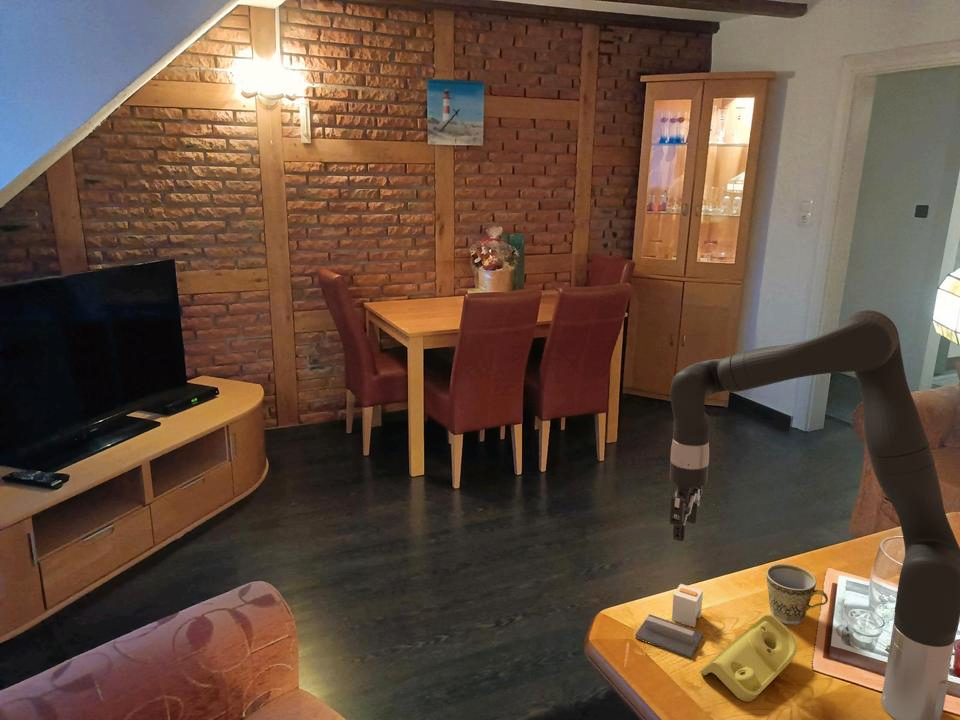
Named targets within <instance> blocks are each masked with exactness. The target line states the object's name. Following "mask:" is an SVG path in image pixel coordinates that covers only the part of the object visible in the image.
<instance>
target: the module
mask: <svg viewBox="0 0 960 720" xmlns="http://www.w3.org/2000/svg"><path fill="white" fill-rule="evenodd" d="M703 593H704V590H702V589H699V588H696V587H693V586H690V585H686V584H683V583H680V584H679V585H678V587H677V588H676V590H675V592H674V593H673V596H672V610H671V611H672V613H671V620H672V621H674V622H677V621H678V622H677V623H680V622H681V623H680V624H683V623H684V624H683V625H686V624H687V625H686V626H688V625H691V626H693V627H692V628H696V626H695V625H697V619H700V618H701V617H702V611H703V609H702V607H703ZM691 626H690V627H691Z"/></svg>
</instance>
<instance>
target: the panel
mask: <svg viewBox="0 0 960 720" xmlns="http://www.w3.org/2000/svg"><path fill="white" fill-rule="evenodd" d="M637 638H639V639H641V640H640V641H642V640H644V641H643V642H645V641H647V642H650V643H652V644H651V645H653V644H654V645H653V646H656V645H657V646H656V647H658V646H660V647H659V648H661V647H662V648H661V649H664V650H667V651H669V652H673V653H676V654H678V655H680V656H683V657H686V658H687V659H692V658H693V656H694V655H695V653H696V651H697V649H698V647H699V645H700V643H701V641H702V639H703V638H704V632H702V631H699V630H696V629H694V628H690V627H688V626H685V625H682V624H680V623H676V622H673V621H671V620H667V619H664V618H662V617H659V616H655V615H652V614H648V615H647V617H646V618H645V620H644V621H643V623H642V624H641V625H640V627H639V629H638V630H637V632H636V633H635V639H637ZM639 639H638V640H639ZM647 642H646V643H647ZM650 643H649V644H650Z"/></svg>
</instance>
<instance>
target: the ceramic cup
mask: <svg viewBox="0 0 960 720" xmlns="http://www.w3.org/2000/svg"><path fill="white" fill-rule="evenodd" d="M766 584H767V590H768V601H769V612H770V614H772V615H774V616H775V617H776V618H777V619H778V620H779V621H780V622H781V623H782V624H784V625H795V626H797V625H800V624H801V623H802V622H803V621H804V619H805V617H806V614H807V612H808V610H810V609H813V608H816V607H820V606H824V605H827V603H828V602H829V597H828V595H827V593H826V592H824V591H823V590H820V589H816V585H817V579H816V577H815V576H814V575H813V574H812V573H811V572H810V571H809V570H807V569H805V568H803V567H801V566H798V565H795V564H794V565H793V564H789V563H777V564H773V565H771V566H770V567H768V568H767V570H766ZM815 595H821V597H822V596H823V598H825V600H824V602H819V603H814V604H813V605H810V603H811V600H812V597H813V596H815Z"/></svg>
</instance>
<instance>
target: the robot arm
mask: <svg viewBox="0 0 960 720" xmlns="http://www.w3.org/2000/svg"><path fill="white" fill-rule="evenodd" d="M901 347H902V346H901V341H900V335H899V331H898V328H897V325H896V324H895V323H894V322H893V321H892V319H890V318H889V317H888V316H887V315H886V314H884V313H882V312H880V311H877V310H871V309H867V310H865V309H864V310H861V311H857V312H856V313H855V312H854V314H852V315H850V316H849V317H847V318H846V319H845V320H844V321H843V322H842V323H841V324H840V325H838V327H836V328H834V329H831V330H830V331H827V332H825V333H822V334H820V335H818V336H815V337H812V338H810V339H805V340H803V341H798V342H794V343H790V344H781V345H775V346H766V347H760V348H755V349H751V350H746V351H743V352H739V353H736V354H733V355H728V356H726V357H723V358H716V359H707V360H703V361H700V362H696V363H693V364H690V365H688V366H686V367H685V368H683V369H682V370H679V372H677V373H676V374H675V375H674V376H673V379H672V380H671V384H670V389H669V392H670V393H669V395H670V397H669V398H670V404H671V411H672V415H673V430H672V431H673V433H672V442H671V447H670V460H669V461H670V462H669V463H670V464H669V480H670V482H671V483H672V484H674V485H676V486H677V489H676V490H675V493H674V495H673V496H671V498H670V500H671V501H670V513H669V514H670V515H669V524H670V525H673V532H672V538H673V539H674V540H675V541H680V542H683V541H684V540H685V537H686V524H687V522H688V523H691V524H696V523H697V521H698V512H699V511H698V510H699V509H698V508H699V507H700V505H701V503H700V501H702V499H703V487H704V486H705V485H706V484H707V482H708V475H709V462H710V443H709V441H710V427H711V426H710V424H711V421H710V416H709V415H708V414H707V412H705V401H706V398H708V397H709V396H711V395H714V394H718V393H722V392H730V393H737V392H743V391H748V390H753V389H756V388H760V387H764V386H768V385H773V384H777V383H782V382H785V381H788V380H793V379H799V378H805V377H809V376H818V375H825V374H826V375H827V374H838V373H850V372H852V373H853V372H854V374H855V375H854V376H856V380H857V383H858V385H859V389H860V393H861V400H862V401H861V402H862V418H863V419H862V420H863V431H864V441H865V445H866V448H867V453H868V456H869V459H870V463H871V466H872V470H873V473H874V475H875V477H876V480H877V482H878V484H879V486H880V489H881V490H882V492H883V493H884V495H885V496H886V497H887V499H888V501H889V502H890V504H891V506H892V507H893V509H894V510H895V513H896V515H897V517H898V521H899V524H900V529H901V534H902V538H903V544H904V552H905V553H904V559H903V562H902V565H901V568H900V573H899V578H898V585H897V592H896V599H895V605H894V618H893V625H892V630H891V636H890V642H889V650H888V655H887V661H886V668H885V673H884V679H883V680H884V681H883V686H882V692H881V699H880V700H881V705H882V707H883V709H884V711H886V713H887V714H888V715H889V716H890V717H892V718H893V719H894V720H942V718H943V713H944V708H945V702H946V697H947V692H948V685H949V684H948V683H949V682H948V681H949V672H950V667H951V662H952V658H953V657H952V655H953V651H954V646H955V642H956V634H957V632H958V630H959V622H960V546H959V543H958V541H957V538H956V537H955V534H954V531H953V528H952V527H951V524H950V521H949V520H948V517H947V513H946V511H945V506H944V502H943V501H944V500H943V495H942V489H941V485H940V481H939V476H938V472H937V468H936V463H935V459H934V456H933V453H932V449H931V446H930V443H929V439H928V437H927V433H926V431H925V428H924V425H923V421H922V419H921V415H920V414H919V411H918V408H917V405H916V403H915V400H914V398H913V395H912V392H911V390H910V387H909V384H908V381H907V377H906V372H905V365H904V360H903V355H902V350H901V349H902V348H901ZM678 516H679V517H678Z"/></svg>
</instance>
